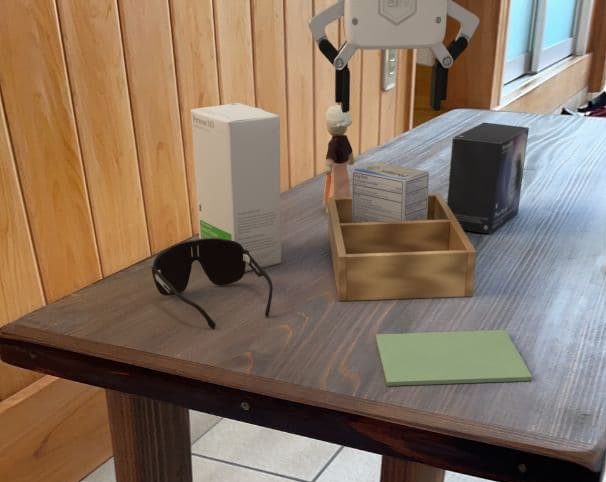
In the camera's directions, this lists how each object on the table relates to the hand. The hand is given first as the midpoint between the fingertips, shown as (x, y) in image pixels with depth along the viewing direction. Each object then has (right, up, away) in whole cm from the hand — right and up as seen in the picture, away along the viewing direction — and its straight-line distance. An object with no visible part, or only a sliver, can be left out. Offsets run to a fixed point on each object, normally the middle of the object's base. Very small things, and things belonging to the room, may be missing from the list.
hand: (389, 109), depth 91 cm
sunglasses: (-18, -22, -5) cm, 29 cm away
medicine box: (+1, -12, +9) cm, 15 cm away
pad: (+3, -30, -17) cm, 35 cm away
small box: (+13, -6, +16) cm, 22 cm away
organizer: (+1, -15, +4) cm, 16 cm away
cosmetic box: (-16, -14, +7) cm, 23 cm away
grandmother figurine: (-5, -3, +22) cm, 23 cm away
